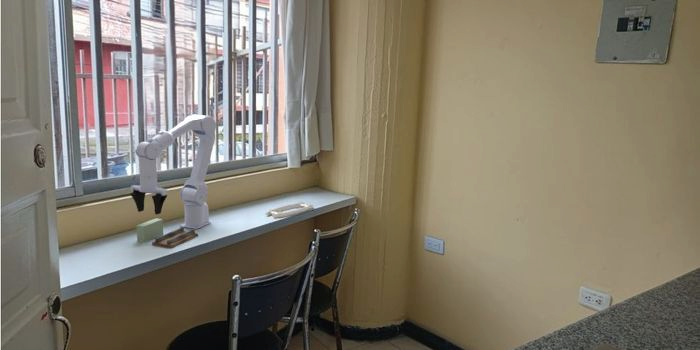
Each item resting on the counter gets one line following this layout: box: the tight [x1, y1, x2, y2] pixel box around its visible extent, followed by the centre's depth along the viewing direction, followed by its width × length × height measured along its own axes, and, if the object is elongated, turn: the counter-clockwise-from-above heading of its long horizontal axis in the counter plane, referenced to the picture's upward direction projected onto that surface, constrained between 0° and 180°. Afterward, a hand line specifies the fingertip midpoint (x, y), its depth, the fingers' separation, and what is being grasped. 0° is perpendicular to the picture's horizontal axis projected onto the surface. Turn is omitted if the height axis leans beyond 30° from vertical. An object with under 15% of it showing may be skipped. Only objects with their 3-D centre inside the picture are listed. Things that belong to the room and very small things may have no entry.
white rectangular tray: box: [265, 201, 314, 219], centre depth 220 cm, size 3×10×25 cm
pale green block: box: [136, 218, 164, 243], centre depth 179 cm, size 10×3×6 cm, turn 161°
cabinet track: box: [151, 227, 199, 249], centre depth 177 cm, size 15×8×2 cm, turn 161°
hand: (149, 212), depth 178 cm, fingers open, 7 cm apart
